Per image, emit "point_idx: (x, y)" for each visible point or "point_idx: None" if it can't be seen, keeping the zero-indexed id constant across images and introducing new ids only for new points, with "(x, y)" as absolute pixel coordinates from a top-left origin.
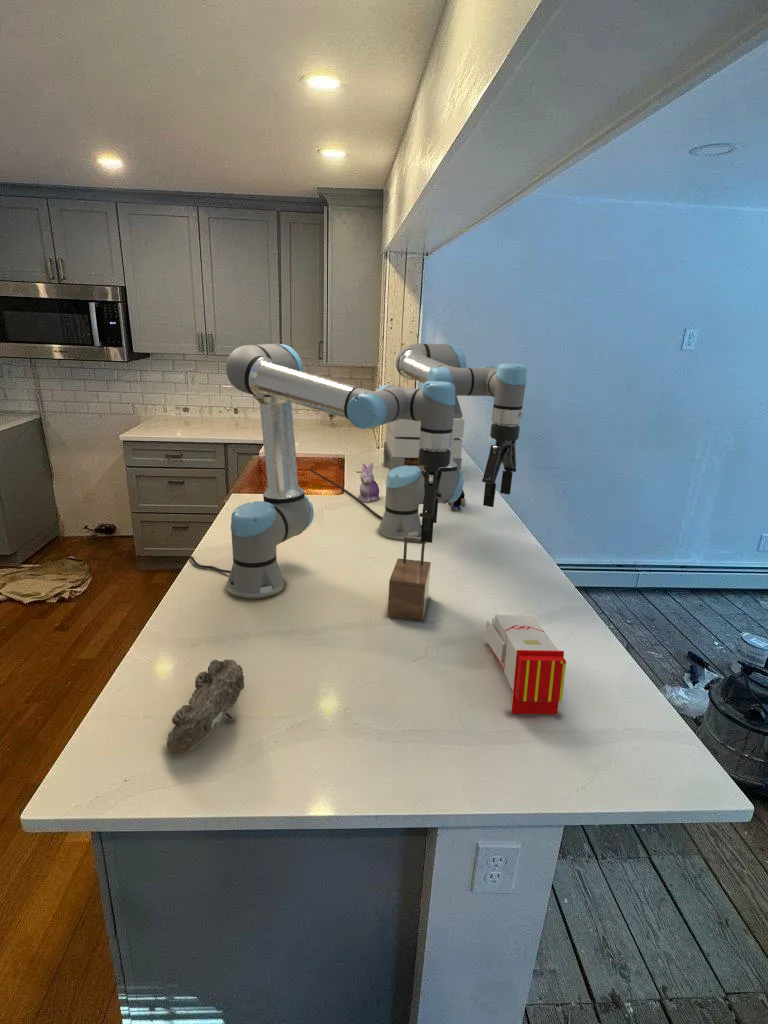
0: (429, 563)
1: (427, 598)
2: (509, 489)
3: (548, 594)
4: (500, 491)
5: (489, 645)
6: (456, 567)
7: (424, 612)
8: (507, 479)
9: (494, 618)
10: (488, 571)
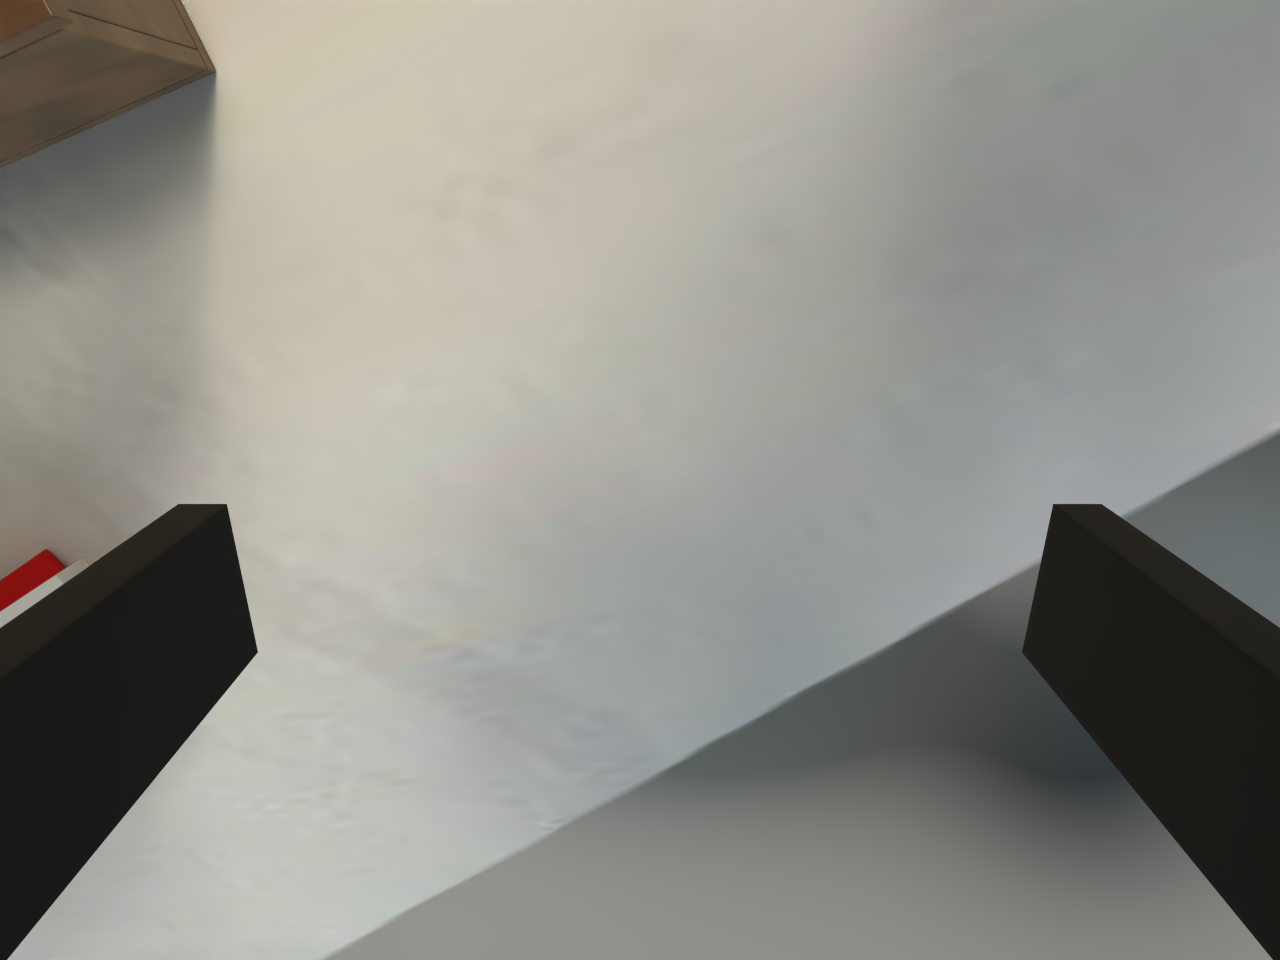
0: (18, 20)
1: (172, 86)
2: (1070, 707)
3: (700, 629)
4: (1067, 518)
5: (18, 568)
6: (745, 37)
7: (39, 149)
8: (1222, 797)
9: (54, 588)
10: (804, 265)
